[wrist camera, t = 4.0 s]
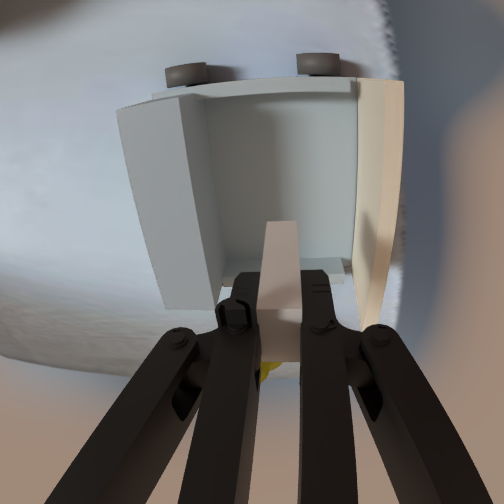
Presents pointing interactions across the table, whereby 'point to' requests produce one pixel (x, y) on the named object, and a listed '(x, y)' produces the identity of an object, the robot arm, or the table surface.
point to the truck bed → (242, 174)
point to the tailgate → (376, 190)
